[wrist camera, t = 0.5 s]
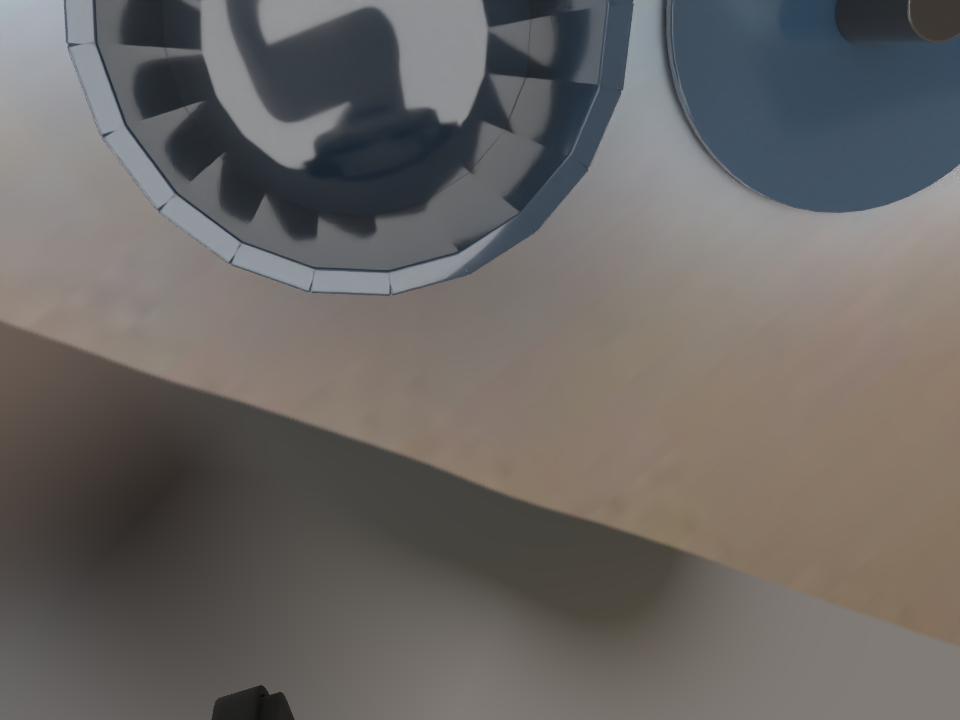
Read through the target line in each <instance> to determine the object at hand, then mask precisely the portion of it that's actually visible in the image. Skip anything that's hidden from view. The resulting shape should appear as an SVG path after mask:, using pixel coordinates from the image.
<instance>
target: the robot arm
mask: <svg viewBox="0 0 960 720" xmlns="http://www.w3.org/2000/svg"><path fill="white" fill-rule="evenodd" d="M212 720H294V717H293V715H292V712H291V710H290V707H289V705H288V702H287V700H286V698H285V696H284V694H283V693H282V692H278V693H275V694H272V695H269V693H268V691H267V690H266V688H265V687H264V686H262V685H260V686H257V687H253V688H250V689H247V690H244V691H240V692H237V693H234V694H231V695H227V696H224V697H221V698H218V699H217V700H216V702H215V705H214V710H213V715H212Z"/></svg>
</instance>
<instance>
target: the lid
mask: <svg viewBox="0 0 960 720" xmlns="http://www.w3.org/2000/svg"><path fill="white" fill-rule="evenodd" d="M666 37H667V46H668V54H669V63H670V68H671V72H672V76H673V80H674V84H675V88H676V92H677V94H678V97H679V100H680V102H681V105H682V107H683V110H684V113H685V115H686V117H687V119H688V121H689V123H690V124H691V126H692V128H693V130H694V132H695V133H696V135H697V137H698V139H699V140H700V141H701V143H702V144H703V145H704V147H705V148H706V149H707V151H708V152H709V153H710V155H711V156H712V157H713V158H714V159H715V160H716V161H717V162H718V163H719V164H720V165H721V166H722V167H723V168H724V169H725V170H726V171H727V172H728V173H729V174H730V175H731V176H733V177H734V178H735V179H737V180H738V181H739V182H741V183H742V184H743V185H745V186H746V187H747V188H749V189H751V190H753V191H755V192H757V193H759V194H760V195H762V196H764V197H766V198H768V199H771V200H774V201H777V202H779V203H782V204H785V205H788V206H791V207H794V208H799V209H804V210H810V211H815V212H832V213H843V212H853V211H863V210H867V209H871V208H876V207H880V206H884V205H887V204H890V203H893V202H895V201H898V200H901V199H903V198H906V197H909V196H911V195H912V194H914V193H916V192H918V191H920V190H922V189H924V188H926V187H928V186H930V185H931V184H933V183H934V182H936V181H937V180H939V179H940V178H942V177H943V176H945V175H946V174H948V173H949V172H951V171H952V170H953V169H954V168H955V167H957V166H958V165H959V164H960V0H667V19H666Z"/></svg>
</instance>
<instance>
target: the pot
mask: <svg viewBox="0 0 960 720" xmlns="http://www.w3.org/2000/svg"><path fill="white" fill-rule="evenodd" d="M632 2H633V0H64V14H65V31H66V43H67V45H68V47H67V48H68V51H69V54H70V56H71V59H72V62H73V64H74V67H75V70H76V72H77V75H78V78H79V80H80V83H81V86H82V88H83V91H84V94H85V96H86V99H87V102H88V104H89V107H90V110H91V112H92V115H93V118H94V120H95V123H96V126H97V128H98V131H99V134H100V135H101V136H103V137H102V139H103V141H104V142H105V143H106V145H107V146H108V147H109V148H110V150H111V151H112V152H113V154H114V155H115V156H116V158H117V159H118V160H119V162H120V163H121V164H122V166H123V167H124V168H125V170H126V171H127V172H128V173H129V175H130V176H131V177H132V179H133V180H134V181H135V183H136V184H137V185H138V187H139V188H140V189H141V191H142V192H143V193H144V195H145V196H146V197H147V198H148V200H149V201H150V202H151V204H152V205H153V206H154V208H155V209H156V210H159V213H160V214H161V215H163V216H164V217H165V218H167V219H168V220H169V221H171V222H172V223H173V224H175V225H176V226H178V227H179V228H180V229H182V230H183V231H184V232H186V233H187V234H189V235H190V236H191V237H193V238H194V239H195V240H197V241H198V242H199V243H201V244H202V245H204V246H205V247H206V248H208V249H209V250H210V251H212V252H213V253H214V254H216V255H217V256H219V257H220V258H221V259H223V260H224V261H225V262H227V263H229V264H231V265H232V266H235V267H238V268H241V269H244V270H246V271H249V272H252V273H255V274H258V275H261V276H263V277H266V278H269V279H272V280H275V281H278V282H280V283H283V284H286V285H289V286H292V287H295V288H298V289H300V290H303V291H306V292H312V293H330V294H355V295H381V296H390V295H391V294H392V295H397V294H400V293H404V292H408V291H411V290H415V289H419V288H422V287H426V286H430V285H433V284H437V283H441V282H444V281H448V280H452V279H456V278H459V277H463V276H466V275H468V274H471V273H473V272H474V271H476V270H477V269H479V268H481V267H482V266H484V265H485V264H487V263H488V262H490V261H491V260H493V259H495V258H496V257H498V256H499V255H501V254H502V253H504V252H506V251H507V250H509V249H510V248H512V247H513V246H515V245H516V244H518V243H520V242H521V241H523V240H524V239H526V238H527V237H529V236H531V235H532V234H534V233H535V231H537V230H538V229H539V228H540V227H541V226H542V224H543V223H544V222H545V221H546V220H547V218H548V217H549V216H550V215H551V214H552V213H553V211H554V210H555V209H556V208H557V207H558V205H559V204H560V203H561V202H562V201H563V199H564V198H565V197H566V196H567V195H568V194H569V192H570V191H571V190H572V189H573V188H574V186H575V185H576V184H577V183H578V182H579V181H580V179H581V178H582V177H583V176H584V175H585V173H586V172H587V171H588V167H589V166H590V165H591V162H592V160H593V158H594V155H595V153H596V151H597V148H598V146H599V144H600V142H601V139H602V137H603V135H604V132H605V130H606V128H607V125H608V123H609V121H610V118H611V116H612V114H613V111H614V109H615V107H616V104H617V102H618V100H619V98H620V95H621V91H622V90H623V85H624V77H625V69H626V61H627V53H628V45H629V37H630V28H631V20H632V12H633V3H632Z"/></svg>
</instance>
